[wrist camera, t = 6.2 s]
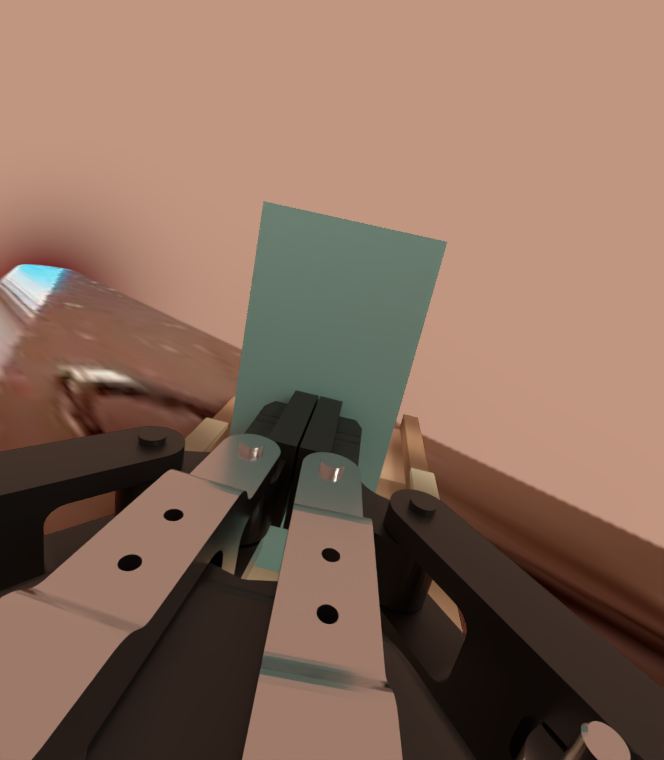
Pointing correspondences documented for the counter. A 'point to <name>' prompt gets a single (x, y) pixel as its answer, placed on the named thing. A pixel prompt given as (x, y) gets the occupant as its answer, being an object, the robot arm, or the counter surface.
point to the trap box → (398, 472)
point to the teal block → (333, 326)
